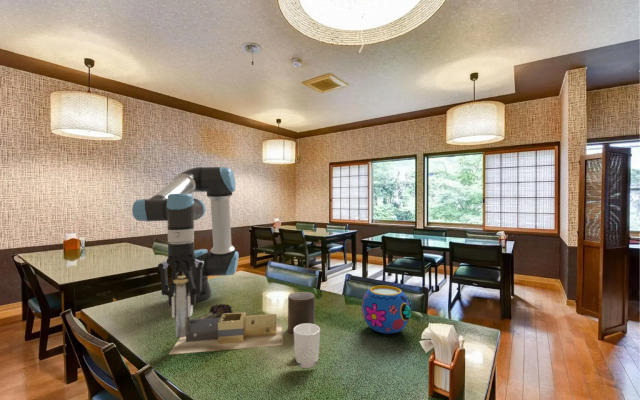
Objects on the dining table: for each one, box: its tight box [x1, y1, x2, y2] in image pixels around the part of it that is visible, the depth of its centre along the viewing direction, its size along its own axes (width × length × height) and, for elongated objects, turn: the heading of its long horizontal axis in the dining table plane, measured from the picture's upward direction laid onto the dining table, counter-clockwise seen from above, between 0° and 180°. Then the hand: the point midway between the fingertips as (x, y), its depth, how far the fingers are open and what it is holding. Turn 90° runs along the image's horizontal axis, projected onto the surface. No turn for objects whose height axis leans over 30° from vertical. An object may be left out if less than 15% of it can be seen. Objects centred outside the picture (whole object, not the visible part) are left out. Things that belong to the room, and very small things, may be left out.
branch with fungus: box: [195, 303, 233, 319], centre depth 116 cm, size 18×7×6 cm, turn 150°
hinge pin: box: [172, 275, 191, 338], centre depth 92 cm, size 5×5×18 cm
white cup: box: [293, 323, 321, 369], centre depth 87 cm, size 8×8×10 cm
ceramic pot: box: [361, 285, 412, 335], centre depth 107 cm, size 18×18×15 cm
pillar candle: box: [287, 291, 316, 336], centre depth 106 cm, size 10×10×15 cm
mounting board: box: [167, 323, 284, 355], centre depth 100 cm, size 16×35×1 cm, turn 99°
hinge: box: [186, 311, 277, 344], centre depth 100 cm, size 8×30×7 cm, turn 99°
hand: (182, 315), depth 92 cm, fingers closed on hinge pin, 4 cm apart
